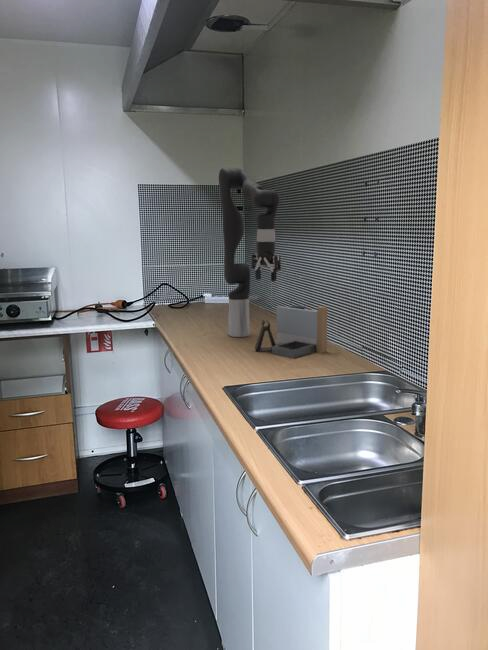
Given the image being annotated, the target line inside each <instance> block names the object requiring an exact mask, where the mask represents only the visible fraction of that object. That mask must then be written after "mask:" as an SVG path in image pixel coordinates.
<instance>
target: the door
mask: <svg viewBox="0 0 488 650" xmlns="http://www.w3.org/2000/svg"><path fill="white" fill-rule="evenodd" d="M292 341H299V342H305V343H310V344H316V352H315V353H321V354H323V353H327V352H328V306H318V307H317V309H316V310H312V309H306V308H305V309H297V308H289V306H281V305H280V306H276V344H277V345H280V344H284V343H288V342H292Z"/></svg>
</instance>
